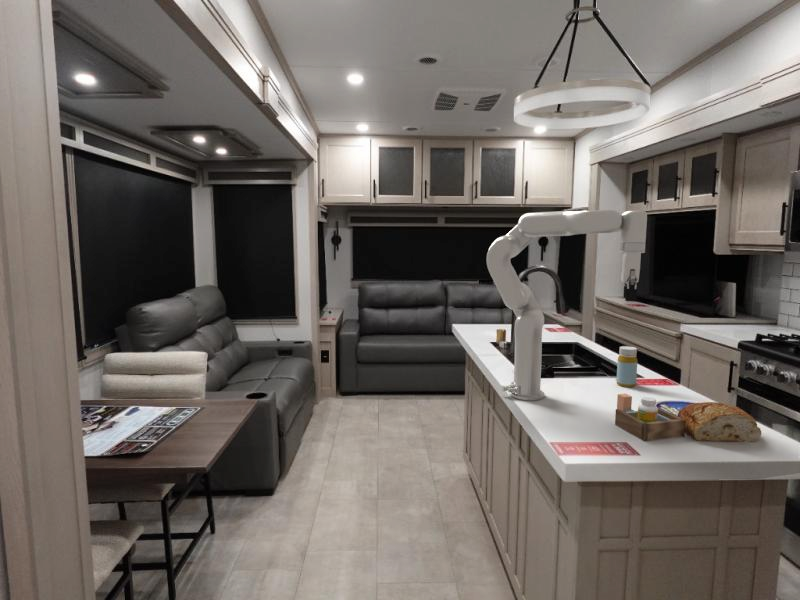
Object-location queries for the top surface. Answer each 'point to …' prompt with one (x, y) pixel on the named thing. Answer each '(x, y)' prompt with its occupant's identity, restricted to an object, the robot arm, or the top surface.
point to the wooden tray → (651, 426)
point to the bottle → (627, 366)
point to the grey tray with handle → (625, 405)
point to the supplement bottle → (648, 410)
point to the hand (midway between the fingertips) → (629, 299)
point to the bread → (719, 422)
